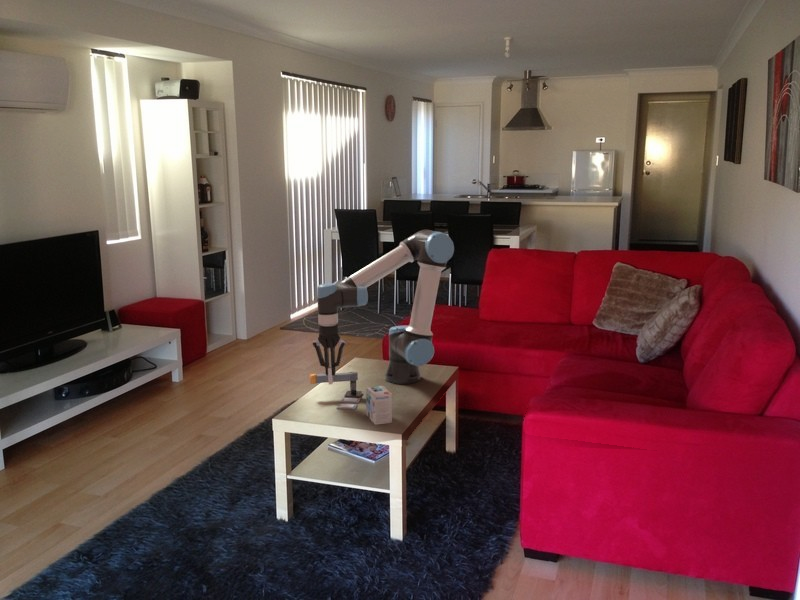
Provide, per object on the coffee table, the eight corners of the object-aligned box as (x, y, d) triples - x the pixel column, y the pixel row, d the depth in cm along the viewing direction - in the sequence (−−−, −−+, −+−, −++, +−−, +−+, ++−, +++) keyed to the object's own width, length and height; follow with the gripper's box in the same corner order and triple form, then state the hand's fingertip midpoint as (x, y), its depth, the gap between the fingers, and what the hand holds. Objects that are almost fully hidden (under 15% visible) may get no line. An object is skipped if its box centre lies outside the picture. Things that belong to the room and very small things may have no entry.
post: (362, 393, 282) (361, 378, 281) (359, 398, 276) (359, 382, 275) (347, 393, 283) (347, 377, 281) (344, 398, 277) (344, 382, 275)
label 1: (360, 399, 275) (360, 397, 275) (358, 403, 271) (358, 402, 270) (343, 398, 276) (343, 397, 276) (340, 402, 271) (340, 401, 271)
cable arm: (358, 381, 277) (358, 373, 276) (310, 384, 273) (310, 376, 273) (357, 378, 280) (356, 371, 279) (309, 381, 277) (309, 373, 276)
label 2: (357, 405, 269) (357, 403, 268) (354, 409, 264) (354, 408, 264) (339, 404, 269) (339, 403, 269) (336, 408, 265) (336, 407, 264)
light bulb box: (365, 415, 258) (365, 387, 256) (383, 412, 260) (382, 385, 258) (375, 425, 248) (374, 396, 246) (393, 422, 250) (392, 393, 248)
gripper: (346, 322, 272) (349, 380, 277) (314, 322, 274) (317, 380, 278) (343, 326, 265) (345, 386, 269) (309, 326, 266) (312, 386, 271)
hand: (331, 383), depth 274 cm, fingers closed
